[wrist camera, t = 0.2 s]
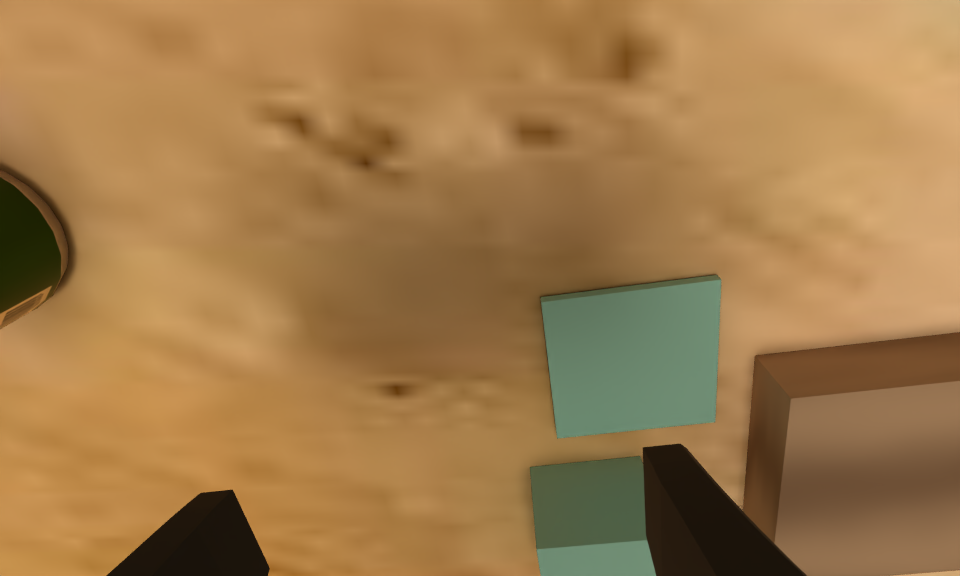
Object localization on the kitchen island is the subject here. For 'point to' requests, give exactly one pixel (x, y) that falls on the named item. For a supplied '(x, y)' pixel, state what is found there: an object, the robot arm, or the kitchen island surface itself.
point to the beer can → (27, 250)
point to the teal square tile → (633, 356)
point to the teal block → (591, 518)
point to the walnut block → (858, 456)
